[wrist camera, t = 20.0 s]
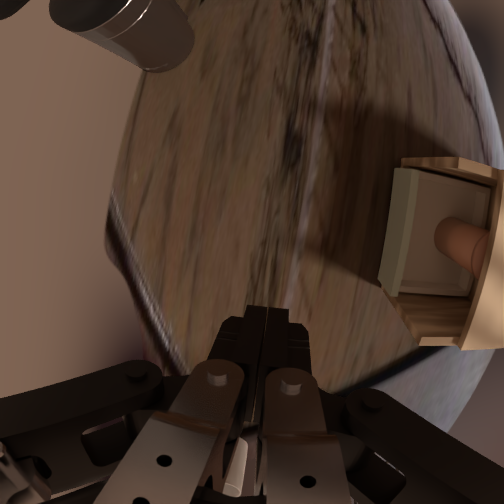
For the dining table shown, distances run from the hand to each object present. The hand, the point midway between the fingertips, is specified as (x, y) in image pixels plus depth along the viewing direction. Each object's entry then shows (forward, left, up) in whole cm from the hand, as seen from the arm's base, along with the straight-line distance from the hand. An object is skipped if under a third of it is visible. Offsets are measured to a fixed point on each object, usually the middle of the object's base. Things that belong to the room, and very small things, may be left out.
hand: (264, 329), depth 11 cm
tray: (0, +21, -29) cm, 35 cm away
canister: (0, +23, -27) cm, 35 cm away
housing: (0, +22, -29) cm, 36 cm away
